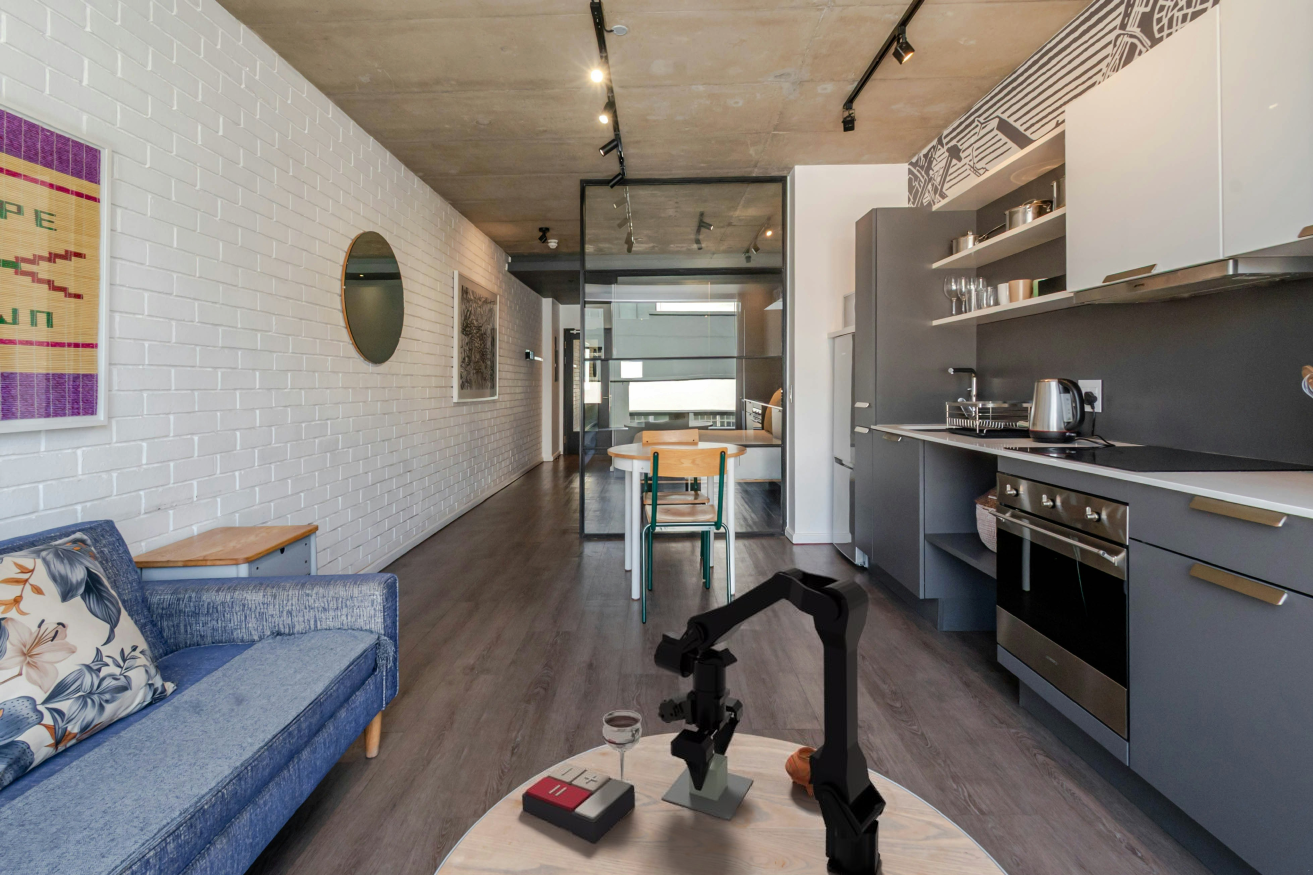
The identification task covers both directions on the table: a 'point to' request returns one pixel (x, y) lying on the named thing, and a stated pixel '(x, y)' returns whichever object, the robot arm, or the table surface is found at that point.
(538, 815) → the calculator
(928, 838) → the table surface
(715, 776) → the sage block
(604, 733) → the wineglass
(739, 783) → the charcoal mat
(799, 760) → the pot
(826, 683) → the robot arm
